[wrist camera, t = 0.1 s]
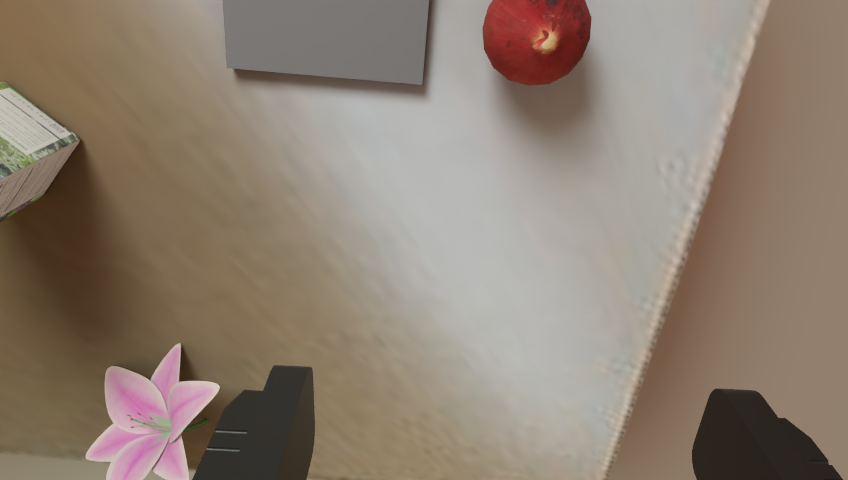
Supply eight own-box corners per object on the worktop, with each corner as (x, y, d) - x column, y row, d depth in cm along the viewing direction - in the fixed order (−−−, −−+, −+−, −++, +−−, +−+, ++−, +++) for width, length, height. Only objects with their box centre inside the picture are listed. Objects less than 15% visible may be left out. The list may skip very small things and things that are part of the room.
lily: (268, 343, 48) (183, 371, 39) (262, 486, 49) (177, 547, 40) (149, 326, 52) (47, 348, 43) (144, 459, 52) (43, 509, 43)
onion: (496, -42, 35) (513, -41, 27) (589, -14, 35) (629, -5, 28) (466, 58, 37) (474, 83, 30) (554, 83, 38) (582, 114, 31)
